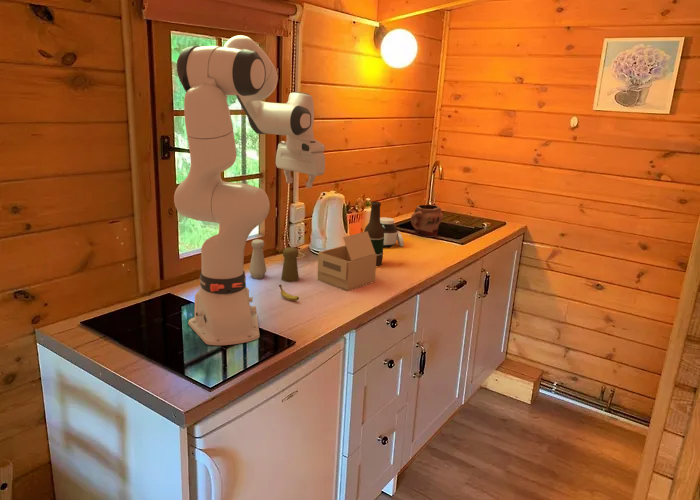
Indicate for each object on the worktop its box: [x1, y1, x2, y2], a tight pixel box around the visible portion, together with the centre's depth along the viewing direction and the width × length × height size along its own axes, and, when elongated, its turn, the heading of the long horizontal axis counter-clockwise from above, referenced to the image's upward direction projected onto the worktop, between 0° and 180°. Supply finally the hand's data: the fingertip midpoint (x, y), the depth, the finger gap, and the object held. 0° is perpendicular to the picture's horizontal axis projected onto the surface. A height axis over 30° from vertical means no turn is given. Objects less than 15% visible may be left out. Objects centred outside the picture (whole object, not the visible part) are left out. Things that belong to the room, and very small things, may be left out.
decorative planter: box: [410, 204, 444, 238], centre depth 251 cm, size 20×12×14 cm, turn 137°
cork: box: [280, 246, 300, 283], centre depth 187 cm, size 6×6×11 cm
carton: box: [317, 245, 377, 292], centre depth 188 cm, size 15×15×10 cm
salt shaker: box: [248, 238, 267, 280], centre depth 187 cm, size 6×6×13 cm
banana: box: [278, 284, 300, 302], centre depth 170 cm, size 8×2×4 cm, turn 54°
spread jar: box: [380, 216, 405, 249], centre depth 233 cm, size 12×11×12 cm
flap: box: [342, 231, 375, 261], centre depth 182 cm, size 8×12×1 cm
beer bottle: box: [363, 200, 384, 267], centre depth 206 cm, size 8×8×24 cm
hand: (299, 185), depth 185 cm, fingers open, 8 cm apart
